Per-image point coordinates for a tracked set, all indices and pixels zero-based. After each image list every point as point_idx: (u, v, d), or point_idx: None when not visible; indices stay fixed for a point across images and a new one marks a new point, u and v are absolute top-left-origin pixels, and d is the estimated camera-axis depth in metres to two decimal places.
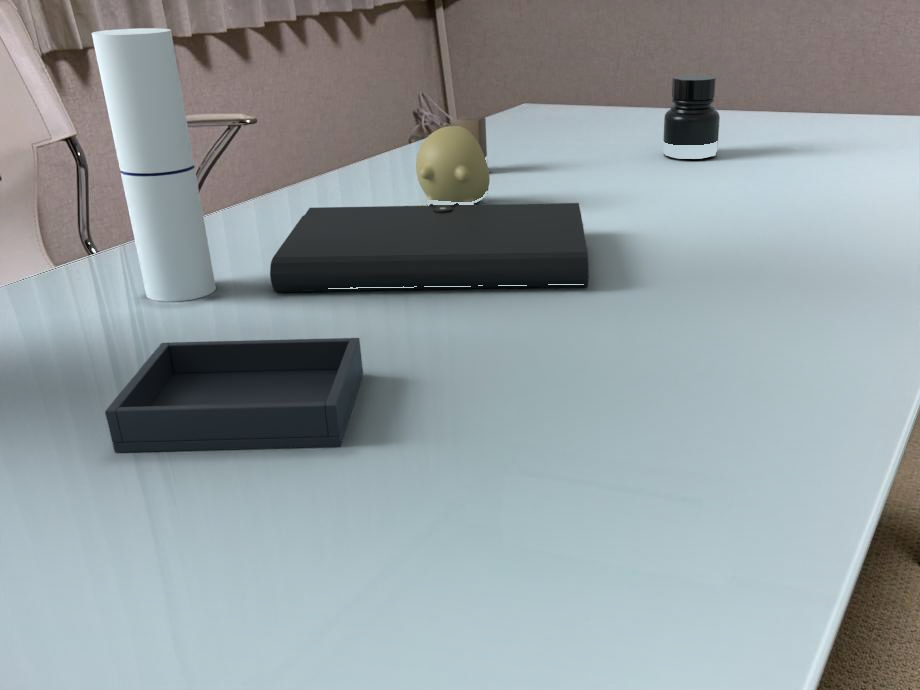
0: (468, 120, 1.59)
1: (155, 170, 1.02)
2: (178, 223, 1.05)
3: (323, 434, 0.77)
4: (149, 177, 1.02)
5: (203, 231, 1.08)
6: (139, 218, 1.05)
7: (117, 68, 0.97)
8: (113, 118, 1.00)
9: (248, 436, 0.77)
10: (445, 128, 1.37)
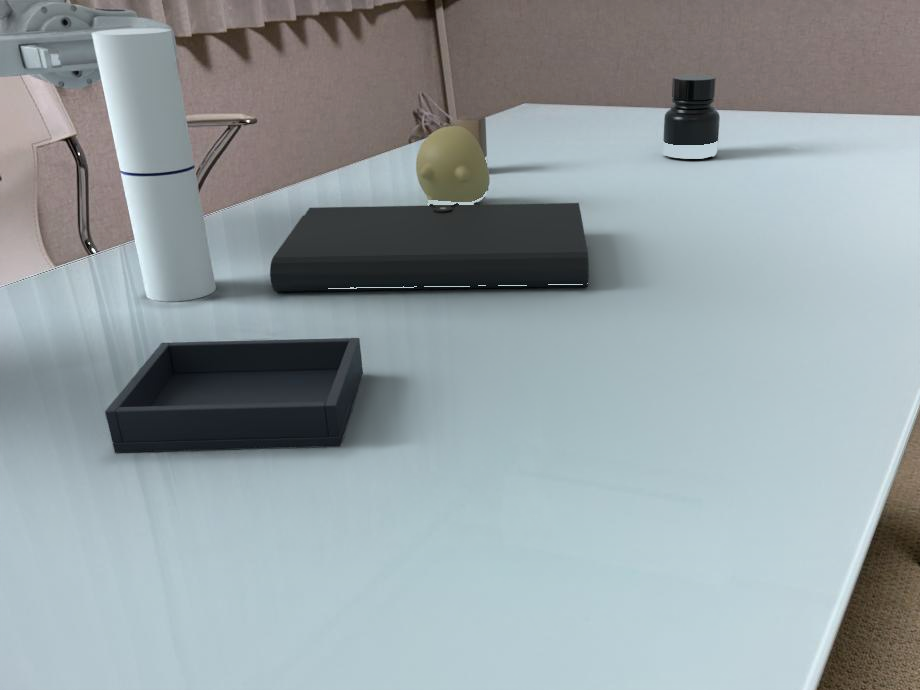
0: (468, 120, 1.59)
1: (155, 170, 1.02)
2: (178, 223, 1.05)
3: (323, 434, 0.77)
4: (149, 177, 1.02)
5: (203, 231, 1.08)
6: (139, 218, 1.05)
7: (117, 68, 0.97)
8: (113, 118, 1.00)
9: (248, 436, 0.77)
10: (445, 128, 1.37)
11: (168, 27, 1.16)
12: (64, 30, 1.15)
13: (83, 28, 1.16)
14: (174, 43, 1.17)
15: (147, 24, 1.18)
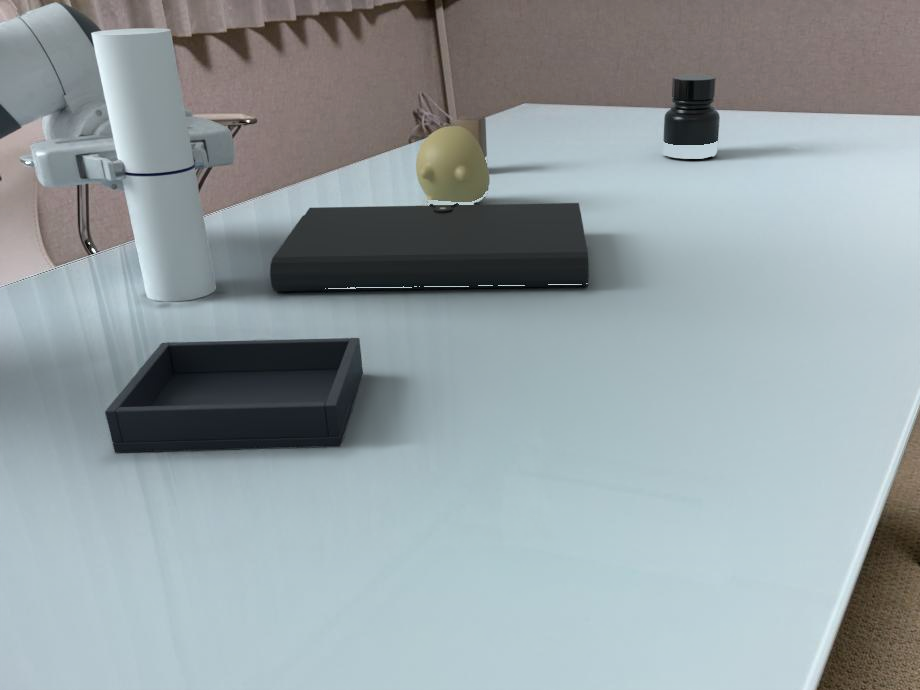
0: (468, 120, 1.59)
1: (155, 170, 1.02)
2: (178, 224, 1.05)
3: (323, 434, 0.77)
4: (149, 177, 1.02)
5: (203, 231, 1.08)
6: (139, 218, 1.05)
7: (117, 68, 0.97)
8: (113, 118, 1.00)
9: (248, 436, 0.77)
10: (445, 128, 1.37)
11: (226, 129, 1.12)
12: None
13: None
14: (232, 145, 1.13)
15: (204, 125, 1.14)
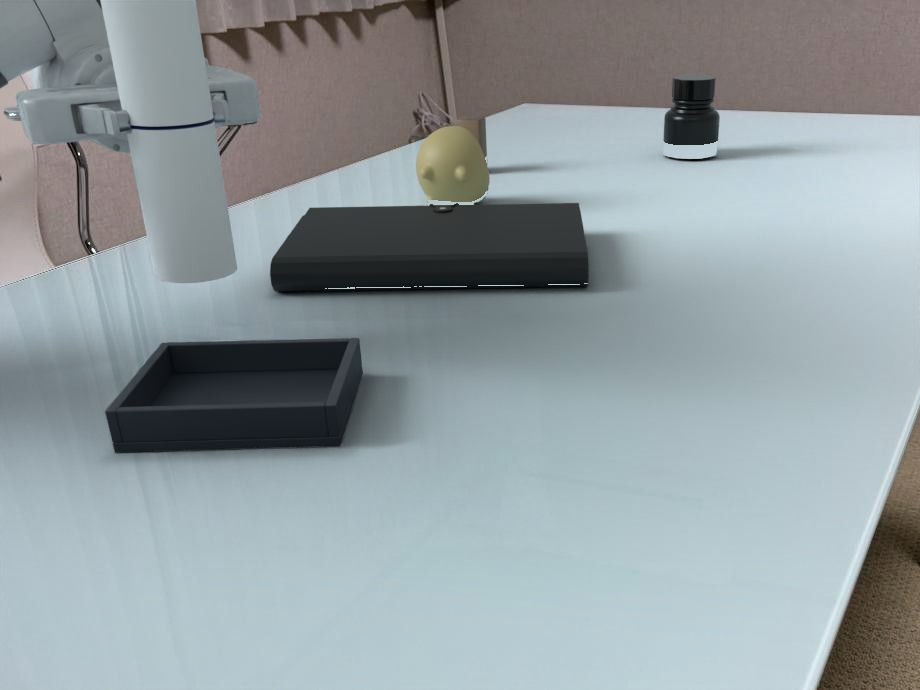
0: (468, 120, 1.59)
1: (167, 123, 0.84)
2: (195, 189, 0.87)
3: (323, 434, 0.77)
4: (160, 131, 0.84)
5: (223, 199, 0.90)
6: (147, 181, 0.87)
7: None
8: (117, 57, 0.82)
9: (248, 436, 0.77)
10: (445, 128, 1.37)
11: (251, 79, 0.94)
12: None
13: None
14: (257, 99, 0.95)
15: (223, 75, 0.96)
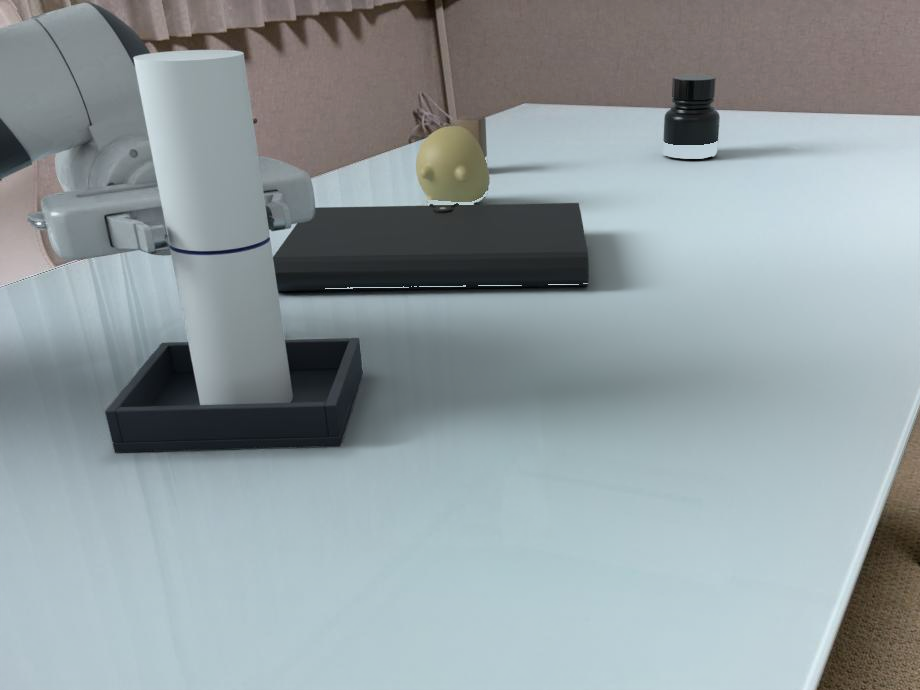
0: (468, 120, 1.59)
1: (219, 247, 0.73)
2: (249, 317, 0.77)
3: (323, 434, 0.77)
4: (211, 256, 0.74)
5: (279, 324, 0.80)
6: (195, 309, 0.76)
7: (170, 107, 0.69)
8: (162, 175, 0.72)
9: (248, 436, 0.77)
10: (445, 128, 1.37)
11: (305, 175, 0.83)
12: None
13: None
14: (312, 196, 0.84)
15: (273, 168, 0.85)
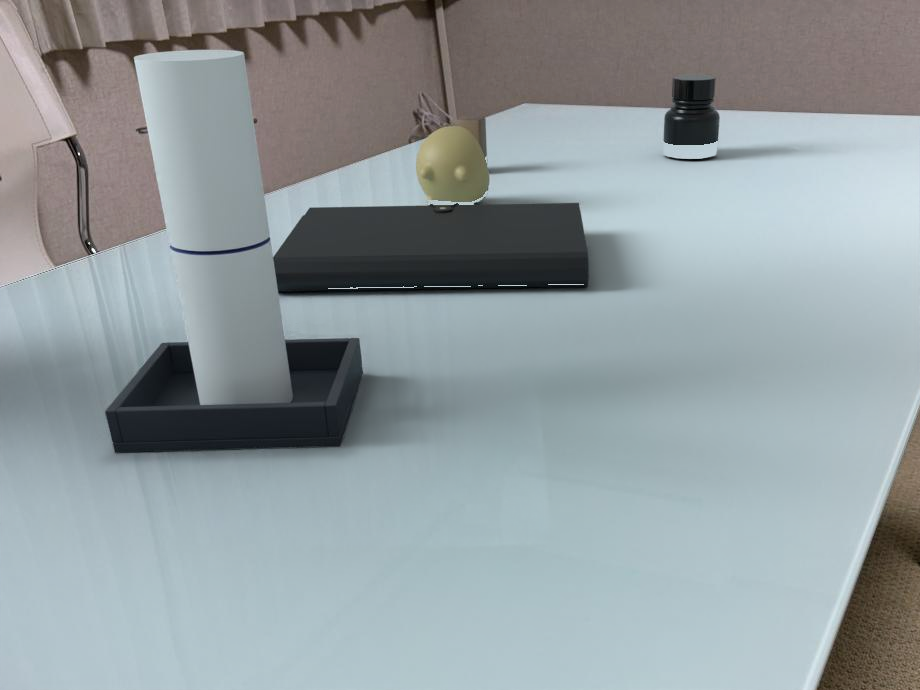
0: (468, 120, 1.59)
1: (219, 247, 0.73)
2: (249, 317, 0.77)
3: (323, 434, 0.77)
4: (211, 256, 0.74)
5: (280, 324, 0.80)
6: (195, 310, 0.76)
7: (171, 107, 0.69)
8: (163, 175, 0.72)
9: (248, 436, 0.77)
10: (445, 128, 1.37)
11: None
12: None
13: None
14: None
15: None
